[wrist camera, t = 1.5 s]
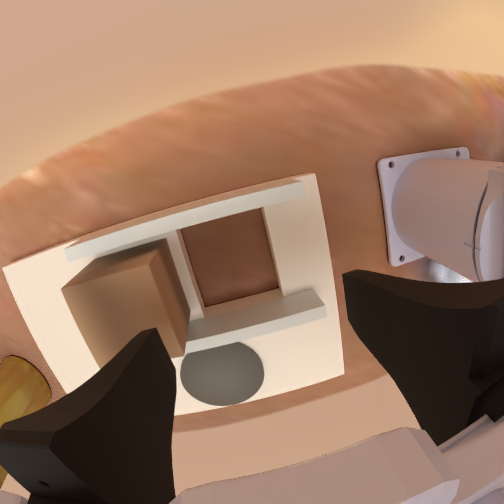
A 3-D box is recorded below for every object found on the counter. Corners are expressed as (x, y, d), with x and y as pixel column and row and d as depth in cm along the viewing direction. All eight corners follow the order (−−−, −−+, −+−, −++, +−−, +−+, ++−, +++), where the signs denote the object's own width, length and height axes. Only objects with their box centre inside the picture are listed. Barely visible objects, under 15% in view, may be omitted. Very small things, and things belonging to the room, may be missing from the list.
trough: (291, 178, 17) (302, 181, 15) (314, 299, 20) (326, 316, 17) (80, 238, 17) (63, 249, 15) (125, 345, 19) (116, 366, 17)
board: (307, 172, 19) (315, 173, 18) (338, 363, 24) (344, 373, 22) (12, 262, 18) (2, 268, 17) (92, 412, 23) (88, 423, 21)
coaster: (252, 329, 20) (253, 333, 20) (270, 391, 22) (271, 395, 21) (168, 349, 20) (167, 353, 19) (196, 407, 22) (196, 412, 21)
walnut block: (166, 237, 18) (148, 264, 13) (190, 310, 19) (184, 356, 14) (94, 258, 17) (60, 289, 13) (122, 326, 19) (100, 370, 14)
